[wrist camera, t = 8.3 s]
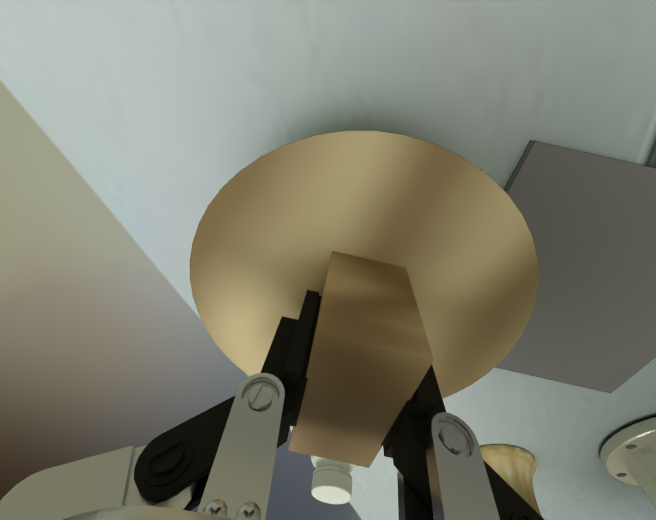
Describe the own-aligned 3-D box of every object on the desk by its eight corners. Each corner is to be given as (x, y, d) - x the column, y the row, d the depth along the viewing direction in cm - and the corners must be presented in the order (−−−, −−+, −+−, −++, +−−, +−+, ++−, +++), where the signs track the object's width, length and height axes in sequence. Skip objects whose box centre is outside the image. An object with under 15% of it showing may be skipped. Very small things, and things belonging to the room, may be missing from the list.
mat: (823, 206, 15) (837, 209, 14) (606, 388, 23) (610, 393, 23) (530, 140, 15) (535, 141, 14) (419, 346, 23) (421, 350, 23)
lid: (619, 183, 9) (901, 258, 4) (439, 420, 16) (471, 540, 12) (186, 85, 9) (-4, 55, 4) (206, 369, 16) (145, 470, 12)
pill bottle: (358, 396, 27) (357, 487, 21) (357, 420, 30) (356, 509, 23) (317, 393, 28) (303, 481, 21) (319, 416, 30) (307, 503, 23)
